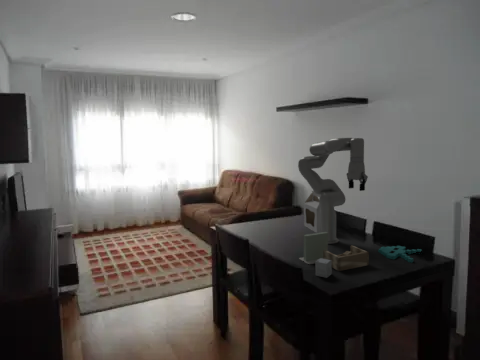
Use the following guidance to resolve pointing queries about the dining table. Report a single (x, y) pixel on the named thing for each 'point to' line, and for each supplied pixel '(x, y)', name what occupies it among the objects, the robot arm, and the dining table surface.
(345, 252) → the offcut top
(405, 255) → the alien figure
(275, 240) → the dining table surface
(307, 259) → the sheet
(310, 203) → the gable box
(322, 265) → the skincare box
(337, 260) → the brown wooden open box
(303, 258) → the felt mat
